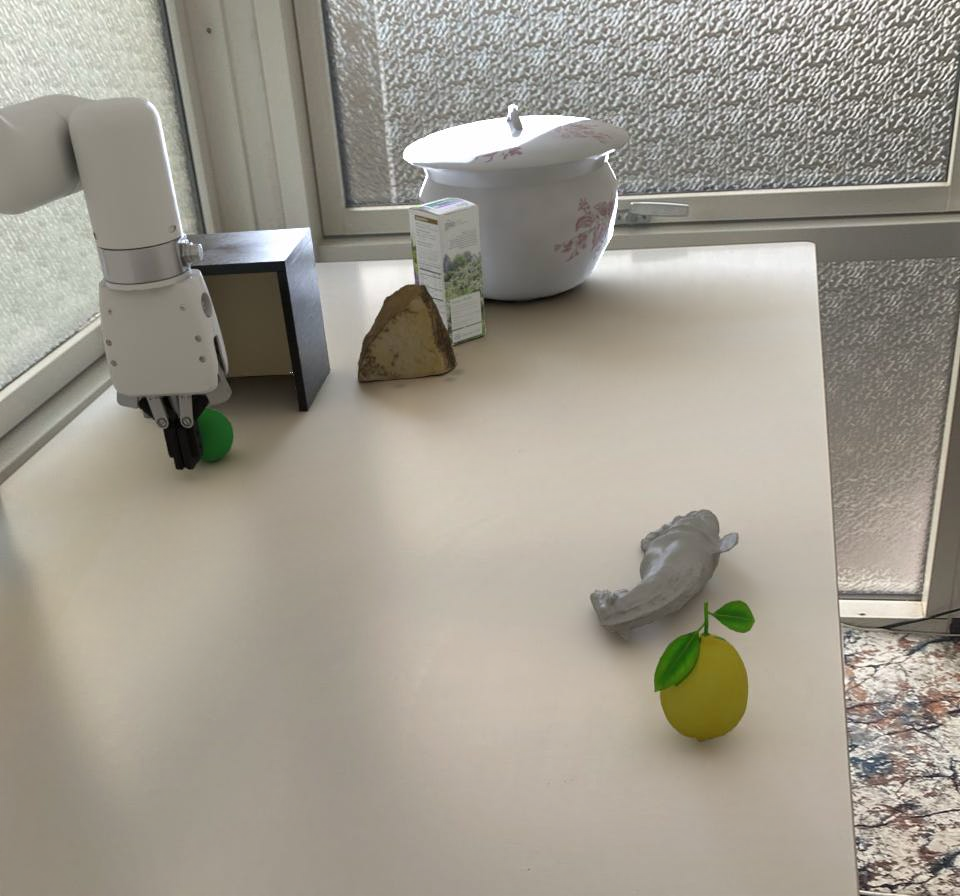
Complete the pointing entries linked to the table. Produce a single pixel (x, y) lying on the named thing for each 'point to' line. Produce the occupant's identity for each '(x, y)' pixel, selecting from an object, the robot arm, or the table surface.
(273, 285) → the mini oven
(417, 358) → the rock
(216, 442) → the ball
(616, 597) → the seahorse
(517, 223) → the chamber pot
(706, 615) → the lemon
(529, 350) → the table surface
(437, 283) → the syrup box
